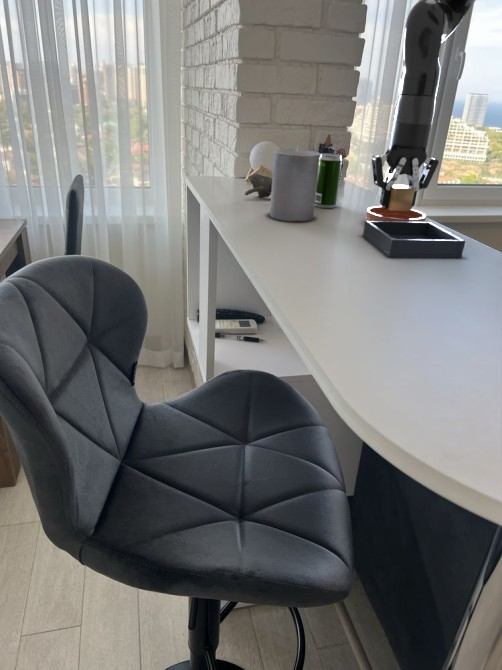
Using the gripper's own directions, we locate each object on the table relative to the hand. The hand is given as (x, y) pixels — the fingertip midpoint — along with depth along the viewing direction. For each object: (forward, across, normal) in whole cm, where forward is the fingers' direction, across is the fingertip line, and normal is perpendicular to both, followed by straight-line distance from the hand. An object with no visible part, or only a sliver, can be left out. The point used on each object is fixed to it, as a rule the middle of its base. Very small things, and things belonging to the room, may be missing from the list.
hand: (396, 207), depth 107 cm
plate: (+4, 0, 0) cm, 4 cm away
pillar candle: (+4, -21, +7) cm, 22 cm away
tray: (+4, -3, -15) cm, 16 cm away
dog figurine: (+4, -23, +26) cm, 35 cm away
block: (0, 0, 0) cm, 0 cm away
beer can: (+4, -10, +19) cm, 22 cm away
